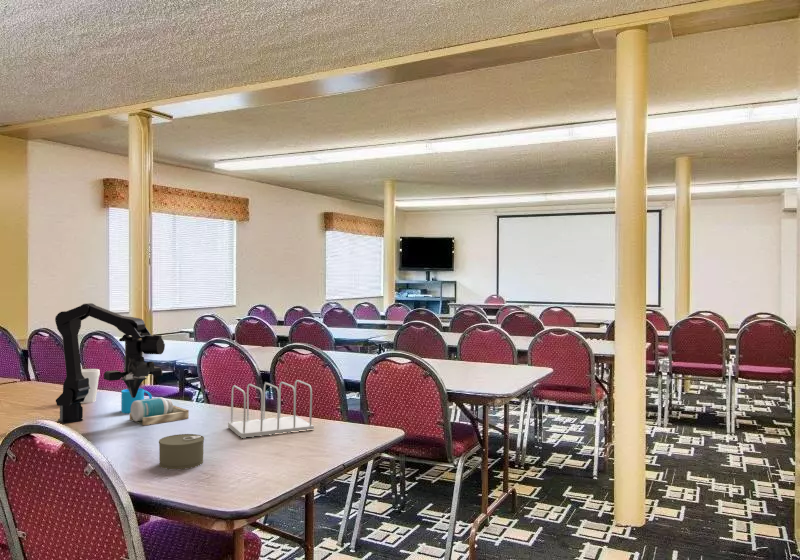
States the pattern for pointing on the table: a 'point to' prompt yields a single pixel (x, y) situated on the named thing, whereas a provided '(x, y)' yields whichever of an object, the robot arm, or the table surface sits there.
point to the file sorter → (269, 424)
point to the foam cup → (91, 384)
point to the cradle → (165, 416)
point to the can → (181, 451)
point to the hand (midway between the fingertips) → (133, 397)
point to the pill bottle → (150, 408)
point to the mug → (131, 399)
